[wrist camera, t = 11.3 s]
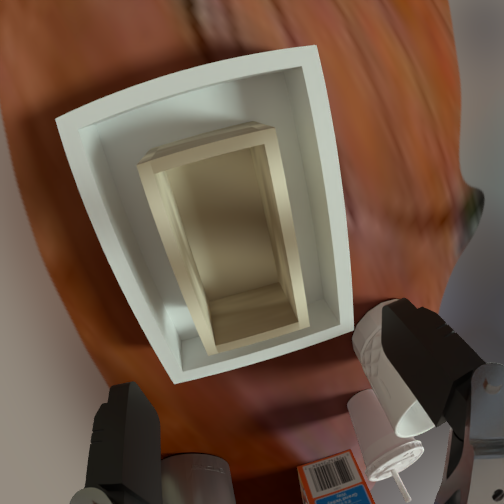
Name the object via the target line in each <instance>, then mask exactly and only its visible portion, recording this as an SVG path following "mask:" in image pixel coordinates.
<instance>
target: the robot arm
mask: <svg viewBox="0 0 504 504" xmlns="http://www.w3.org/2000/svg"><path fill="white" fill-rule="evenodd" d="M381 344H382V348H383V351H384V353H385V355H386V357H387V358H388V360H389V361H390V363H391V364H392V365H393V367H394V368H395V369H396V371H397V372H398V374H399V375H400V376H401V378H402V379H403V381H404V382H405V383H406V385H407V386H408V388H409V389H410V390H411V392H412V393H413V395H414V396H415V397H416V399H417V400H418V402H419V403H420V405H421V406H422V407H423V409H424V410H425V412H426V413H427V415H428V416H429V418H430V419H431V420H432V422H433V423H434V425H435V426H436V427H438V426H440V425H441V424H443V423H445V422H446V421H447V422H448V423H449V425H450V426H451V428H450V432H449V440H448V448H447V455H446V461H445V467H444V473H443V479H442V483H441V486H440V489H439V491H438V493H437V496H436V499H435V502H434V504H504V365H501V364H498V363H485V362H484V361H483V360H482V359H481V358H480V357H479V356H478V355H477V353H476V352H475V351H474V350H473V349H472V348H471V347H470V346H469V345H468V344H467V343H466V342H465V341H464V340H463V339H462V338H461V337H460V336H459V335H458V334H457V333H454V330H453V329H452V328H451V327H450V326H449V325H447V324H446V322H445V321H444V320H443V319H442V318H441V317H440V316H439V315H438V314H437V313H435V312H433V311H431V310H429V309H426V308H424V307H421V308H418V309H417V308H416V307H415V306H414V305H413V304H412V303H411V302H410V301H409V300H408V299H406V298H402V299H399V300H397V301H394V302H392V303H390V304H387V305H385V306H383V308H382V328H381ZM92 431H93V433H92V436H91V444H90V450H89V457H88V466H87V475H86V483H85V488H84V489H81V490H80V491H78V492H77V493H76V494H75V495H74V496H73V497H72V499H71V501H70V504H236V501H235V496H234V491H233V485H232V480H231V475H230V469H229V465H228V463H227V462H226V461H225V460H223V459H221V458H219V457H216V456H212V455H206V454H182V455H175V456H171V457H168V458H166V459H163V460H162V461H161V448H160V421H159V418H158V415H157V412H156V410H155V409H154V407H153V406H152V405H151V403H150V402H149V400H148V399H147V398H146V396H145V395H144V393H143V392H142V391H141V389H140V388H139V386H138V385H137V384H136V383H135V382H128V383H123V384H118V385H113V386H111V388H110V391H109V398H108V403H104V404H102V405H101V406H100V408H99V410H98V412H97V413H96V415H95V418H94V423H93V430H92Z"/></svg>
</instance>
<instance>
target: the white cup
mask: <svg viewBox="0 0 504 504" xmlns="http://www.w3.org/2000/svg"><path fill="white" fill-rule="evenodd" d="M397 300H399V299H393V300H389V301H386V302H382V303H380V304H379V305H377V306H376V307H374V308H373V309H371V310H370V311H368V312H367V313H366V314H365V316H364V317H363V318H362V319H361V320H360V322H359V323H358V324H357V325H356V328H355V331H354V333H353V336H352V344H353V350H354V352H355V353H356V355H357V357H358V359H359V361H360V363H361V364H362V367H363V370H364V372H365V375H366V377H367V378H368V380H369V382H370V385H371V387H372V389H373V391H374V393H375V395H376V397H377V399H378V401H379V403H380V405H381V407H382V408H383V410H384V412H385V414H386V416H387V418H388V420H389V422H390V424H391V427H392V429H393V431H394V433H395V435H396V436H398V437H400V438H408V437H413V436H416V435H419V434H421V433H423V432H426V431H427V430H429V429H431V428H433V427H435V425H434V423H433V422H432V420H431V419H430V418H429V416H428V415H427V413H426V412H425V410H424V409H423V407H422V406H421V405H420V403H419V402H418V400H417V399H416V397H415V396H414V395H413V393H412V392H411V390H410V389H409V388H408V386H407V385H406V383H405V382H404V381H403V379H402V378H401V376H400V375H399V374H398V372H397V371H396V369H395V368H394V367H393V365H392V364H391V363H390V361H389V360H388V358H387V357H386V355H385V353H384V351H383V348H382V344H381V328H382V308H383V306H385V305H387V304H390V303H392V302H394V301H397Z"/></svg>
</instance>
